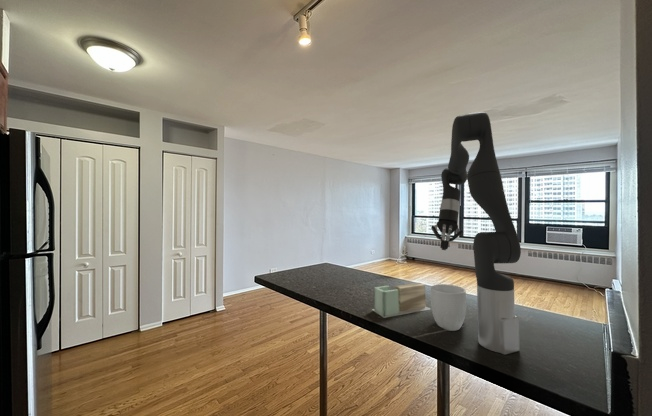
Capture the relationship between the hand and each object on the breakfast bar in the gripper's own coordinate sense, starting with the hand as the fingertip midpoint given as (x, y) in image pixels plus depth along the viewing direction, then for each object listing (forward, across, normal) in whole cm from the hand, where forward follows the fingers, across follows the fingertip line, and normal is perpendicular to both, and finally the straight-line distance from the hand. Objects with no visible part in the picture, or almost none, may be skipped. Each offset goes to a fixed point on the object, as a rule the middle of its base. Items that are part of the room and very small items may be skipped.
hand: (443, 249), depth 111 cm
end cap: (+30, -18, -9) cm, 36 cm away
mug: (+28, +4, -15) cm, 32 cm away
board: (+28, -13, -5) cm, 31 cm away
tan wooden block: (+26, -10, -3) cm, 28 cm away
